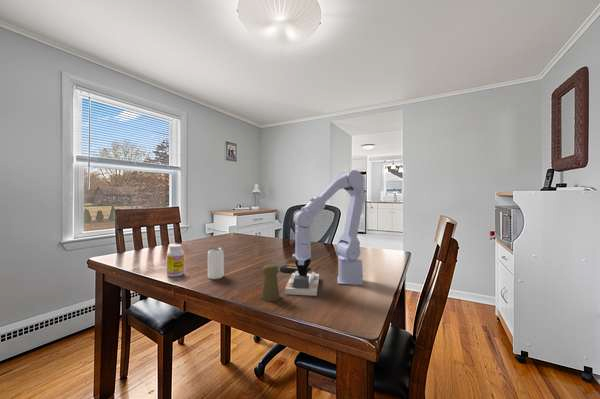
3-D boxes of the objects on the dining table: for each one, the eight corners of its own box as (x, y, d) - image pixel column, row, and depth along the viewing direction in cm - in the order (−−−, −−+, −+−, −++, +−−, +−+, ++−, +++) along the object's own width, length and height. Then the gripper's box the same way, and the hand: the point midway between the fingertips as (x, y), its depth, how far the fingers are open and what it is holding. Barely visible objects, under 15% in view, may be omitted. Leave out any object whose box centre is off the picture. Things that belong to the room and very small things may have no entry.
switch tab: (309, 284, 91) (309, 275, 91) (308, 288, 87) (308, 279, 87) (295, 283, 91) (295, 275, 91) (293, 287, 87) (293, 278, 87)
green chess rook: (271, 302, 80) (271, 268, 80) (257, 298, 83) (257, 265, 83) (283, 296, 85) (282, 264, 85) (269, 292, 88) (269, 261, 88)
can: (227, 276, 107) (227, 248, 107) (214, 280, 101) (214, 251, 101) (217, 273, 110) (216, 246, 110) (204, 277, 105) (204, 249, 105)
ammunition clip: (300, 274, 109) (311, 268, 120) (300, 270, 109) (311, 264, 120) (279, 271, 114) (292, 265, 124) (279, 267, 114) (292, 261, 124)
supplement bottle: (172, 278, 105) (172, 247, 104) (163, 275, 108) (163, 245, 108) (187, 273, 110) (187, 244, 110) (178, 271, 114) (178, 243, 114)
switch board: (319, 278, 104) (319, 270, 103) (316, 295, 86) (316, 285, 86) (292, 277, 105) (292, 269, 105) (284, 294, 87) (284, 283, 87)
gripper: (295, 239, 101) (295, 273, 101) (289, 246, 87) (289, 285, 87) (312, 240, 100) (312, 273, 100) (309, 247, 86) (309, 286, 86)
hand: (303, 279), depth 94 cm, fingers closed
